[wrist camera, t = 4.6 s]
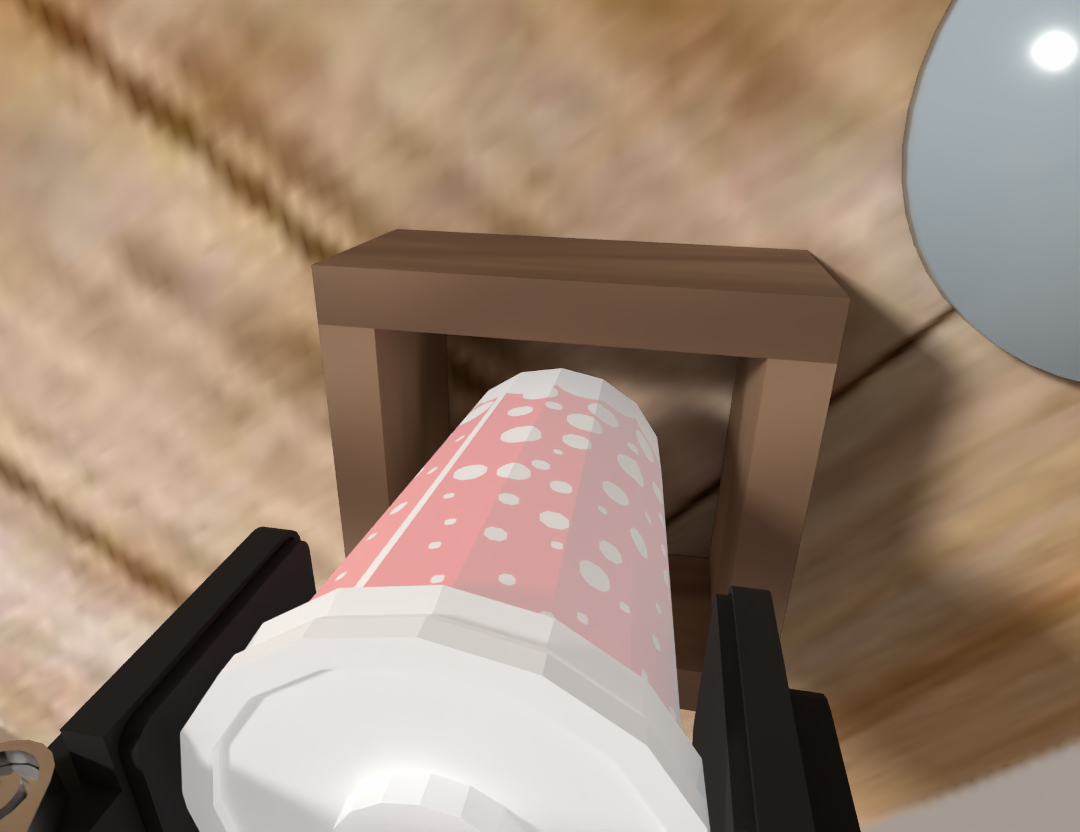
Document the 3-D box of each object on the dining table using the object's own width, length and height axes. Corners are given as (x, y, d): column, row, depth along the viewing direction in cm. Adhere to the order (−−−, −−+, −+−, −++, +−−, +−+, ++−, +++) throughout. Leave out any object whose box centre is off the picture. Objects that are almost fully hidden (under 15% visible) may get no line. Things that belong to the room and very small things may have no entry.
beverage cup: (490, 593, 18) (26, 1820, 5) (385, 380, 16) (-826, 1558, 3) (729, 544, 16) (932, 2303, 3) (647, 294, 14) (304, 2483, 1)
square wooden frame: (396, 229, 17) (311, 265, 13) (807, 250, 16) (850, 298, 12) (418, 554, 22) (357, 657, 18) (746, 598, 20) (762, 721, 16)
